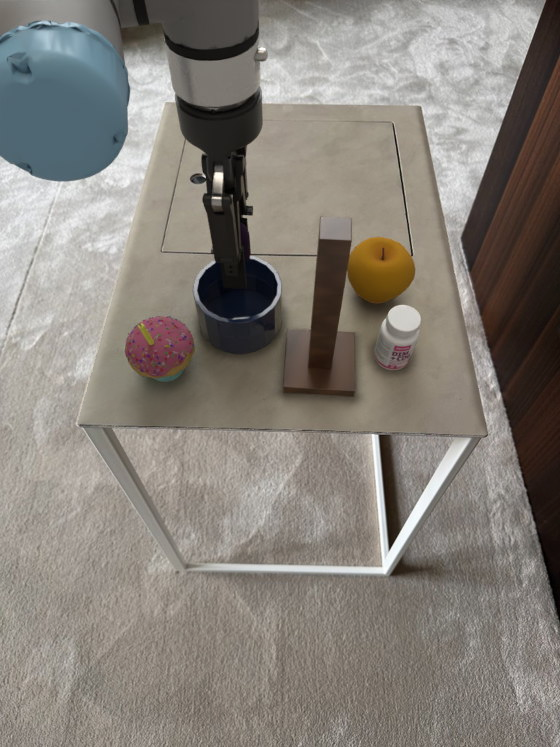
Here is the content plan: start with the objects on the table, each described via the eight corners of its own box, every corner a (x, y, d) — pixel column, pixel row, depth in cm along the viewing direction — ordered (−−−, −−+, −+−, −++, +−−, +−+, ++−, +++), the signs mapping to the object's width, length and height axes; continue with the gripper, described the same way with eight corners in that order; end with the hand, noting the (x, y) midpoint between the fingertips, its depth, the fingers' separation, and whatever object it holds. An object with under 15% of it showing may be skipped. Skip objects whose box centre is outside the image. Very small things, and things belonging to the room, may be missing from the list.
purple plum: (218, 265, 63) (214, 235, 59) (222, 242, 65) (218, 212, 61) (249, 266, 63) (247, 237, 59) (252, 243, 65) (250, 214, 61)
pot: (194, 352, 72) (186, 320, 66) (206, 286, 78) (200, 251, 72) (278, 357, 72) (278, 325, 66) (284, 290, 78) (284, 256, 72)
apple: (416, 285, 78) (431, 239, 70) (390, 328, 74) (403, 285, 66) (359, 261, 81) (368, 214, 73) (331, 302, 77) (337, 257, 69)
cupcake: (182, 402, 68) (165, 349, 58) (121, 383, 70) (94, 328, 59) (208, 348, 72) (197, 290, 62) (150, 331, 74) (130, 271, 64)
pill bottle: (389, 377, 70) (401, 340, 63) (366, 351, 72) (375, 313, 65) (417, 360, 72) (432, 322, 64) (394, 335, 74) (406, 295, 66)
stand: (282, 392, 69) (284, 261, 48) (287, 334, 74) (290, 192, 53) (353, 397, 69) (385, 267, 48) (353, 338, 73) (382, 197, 53)
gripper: (252, 152, 42) (261, 329, 62) (268, 36, 51) (272, 225, 71) (156, 148, 42) (196, 325, 62) (189, 34, 51) (215, 222, 71)
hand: (237, 272), depth 66 cm, fingers closed on purple plum, 4 cm apart
